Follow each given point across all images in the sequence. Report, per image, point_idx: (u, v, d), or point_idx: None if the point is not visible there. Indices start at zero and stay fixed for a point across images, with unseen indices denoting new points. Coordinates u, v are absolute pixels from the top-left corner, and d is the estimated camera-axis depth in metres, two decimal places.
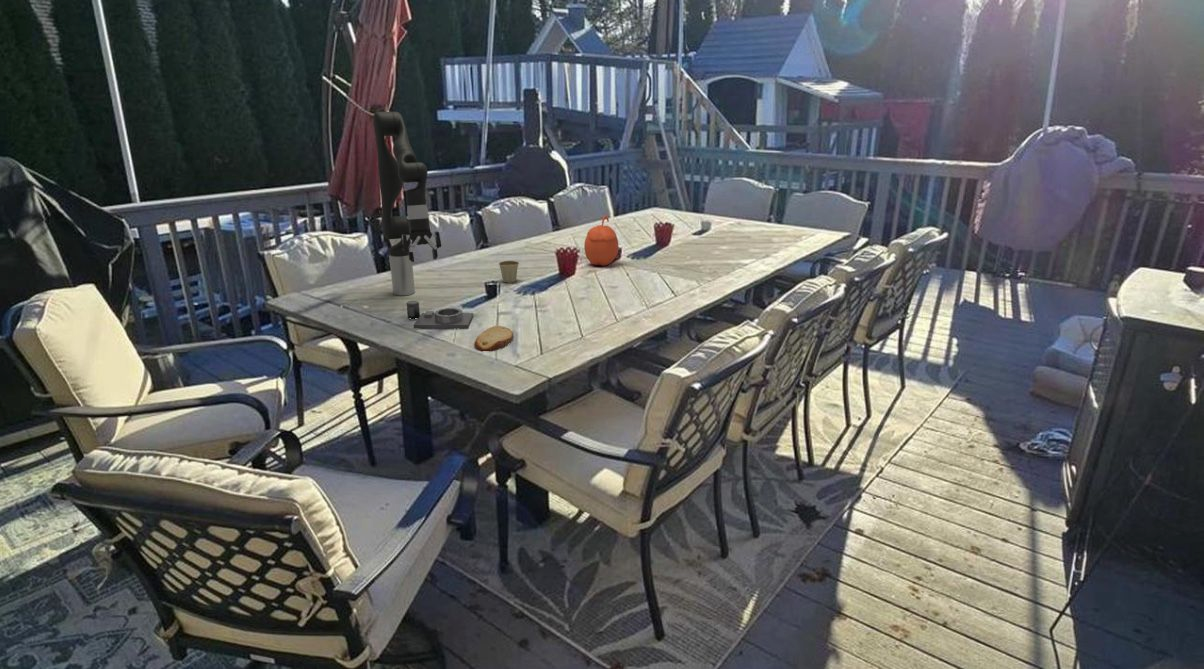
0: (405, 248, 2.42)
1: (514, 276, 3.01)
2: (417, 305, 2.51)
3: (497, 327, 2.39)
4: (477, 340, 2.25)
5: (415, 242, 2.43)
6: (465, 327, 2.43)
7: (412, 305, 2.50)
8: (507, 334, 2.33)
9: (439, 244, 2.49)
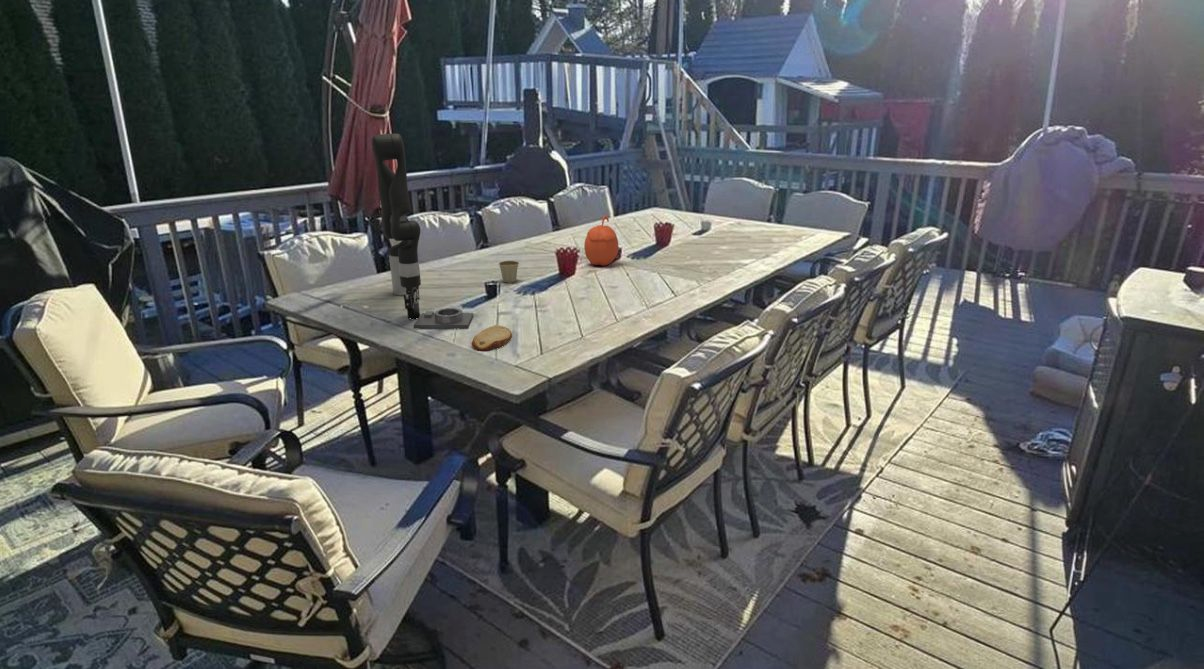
0: (412, 306, 2.46)
1: (514, 276, 3.01)
2: (417, 305, 2.51)
3: (496, 327, 2.39)
4: (474, 339, 2.25)
5: (414, 298, 2.49)
6: (465, 327, 2.43)
7: None
8: (505, 334, 2.33)
9: (418, 297, 2.57)
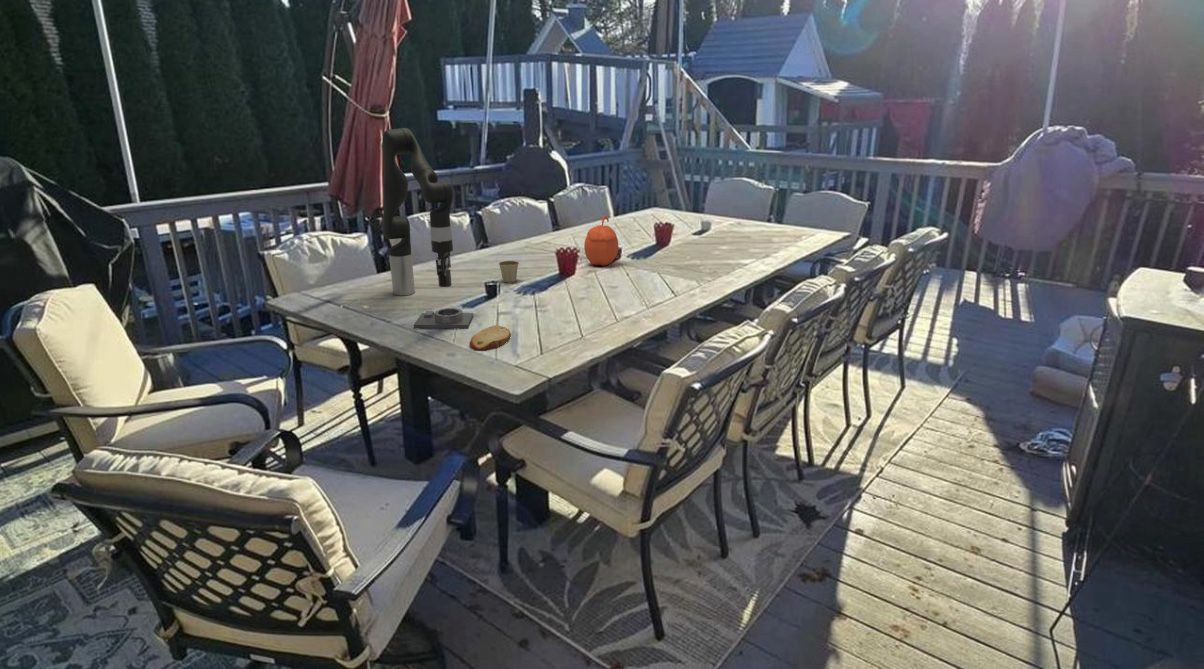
0: (444, 272, 2.35)
1: (514, 276, 3.01)
2: (449, 272, 2.40)
3: (496, 327, 2.39)
4: (472, 339, 2.25)
5: (446, 264, 2.37)
6: (465, 327, 2.43)
7: None
8: (504, 334, 2.33)
9: (450, 264, 2.45)
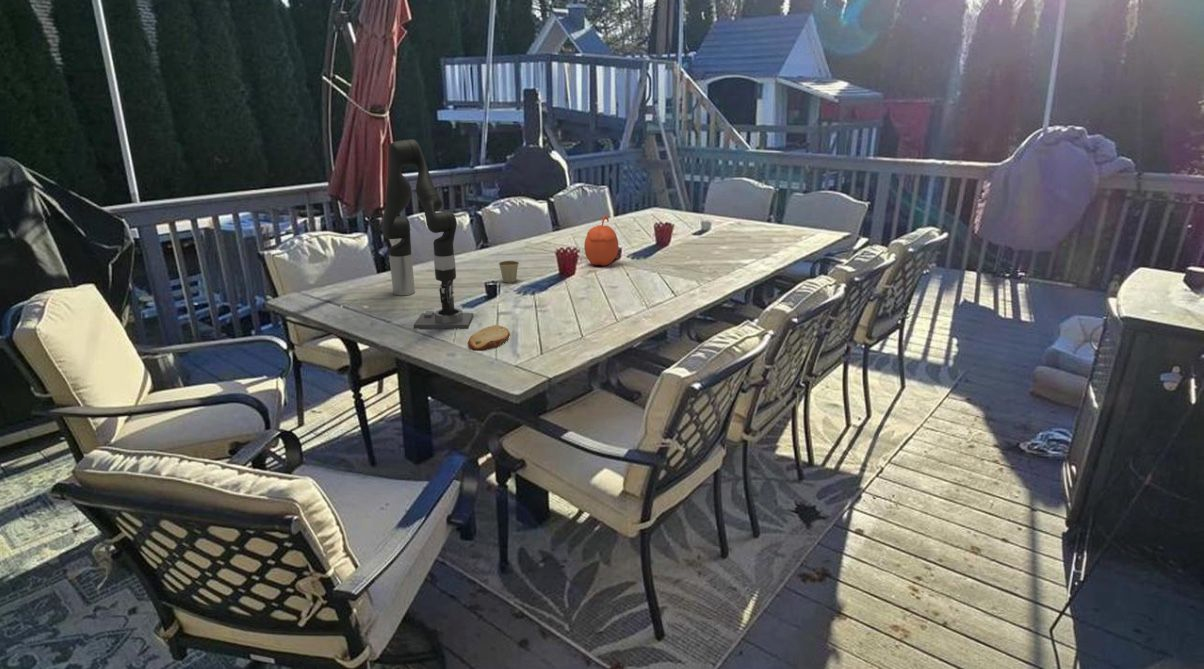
0: (447, 300, 2.39)
1: (514, 276, 3.01)
2: (452, 299, 2.44)
3: (495, 327, 2.39)
4: (471, 339, 2.26)
5: (450, 292, 2.41)
6: (465, 327, 2.43)
7: None
8: (503, 334, 2.33)
9: None
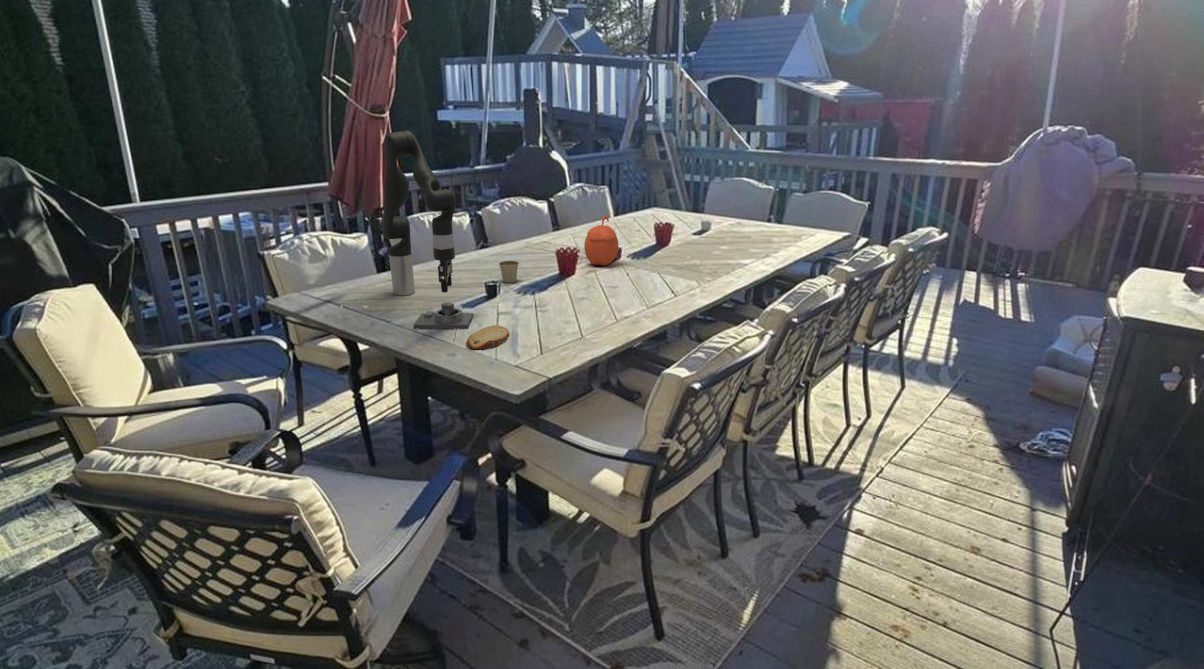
0: (445, 279, 2.36)
1: (514, 276, 3.01)
2: (453, 307, 2.45)
3: (495, 326, 2.39)
4: (469, 338, 2.26)
5: (448, 271, 2.38)
6: (465, 327, 2.43)
7: (448, 307, 2.43)
8: (502, 334, 2.33)
9: None
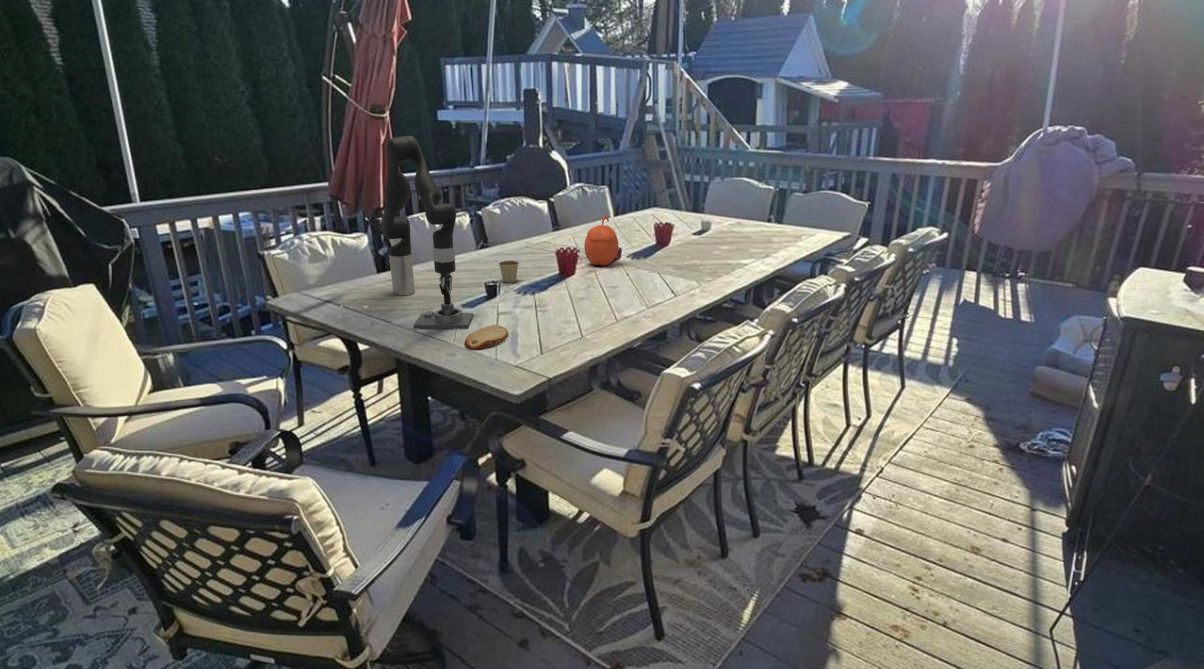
0: (448, 292, 2.41)
1: (514, 276, 3.01)
2: (453, 307, 2.45)
3: (494, 326, 2.39)
4: (467, 338, 2.26)
5: (450, 284, 2.41)
6: (465, 327, 2.43)
7: (449, 307, 2.43)
8: (500, 334, 2.33)
9: (451, 287, 2.46)
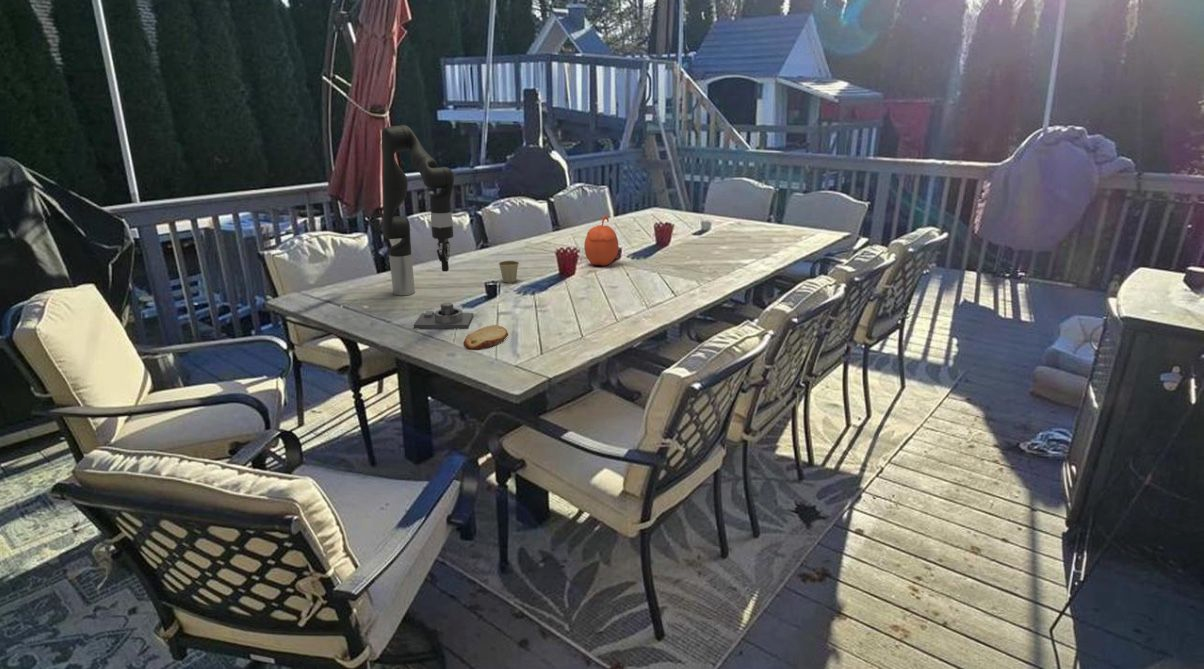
0: (446, 258, 2.36)
1: (514, 276, 3.01)
2: (452, 307, 2.45)
3: (494, 326, 2.39)
4: (467, 338, 2.27)
5: (447, 250, 2.37)
6: (465, 327, 2.43)
7: (448, 307, 2.43)
8: (500, 334, 2.33)
9: (449, 254, 2.41)
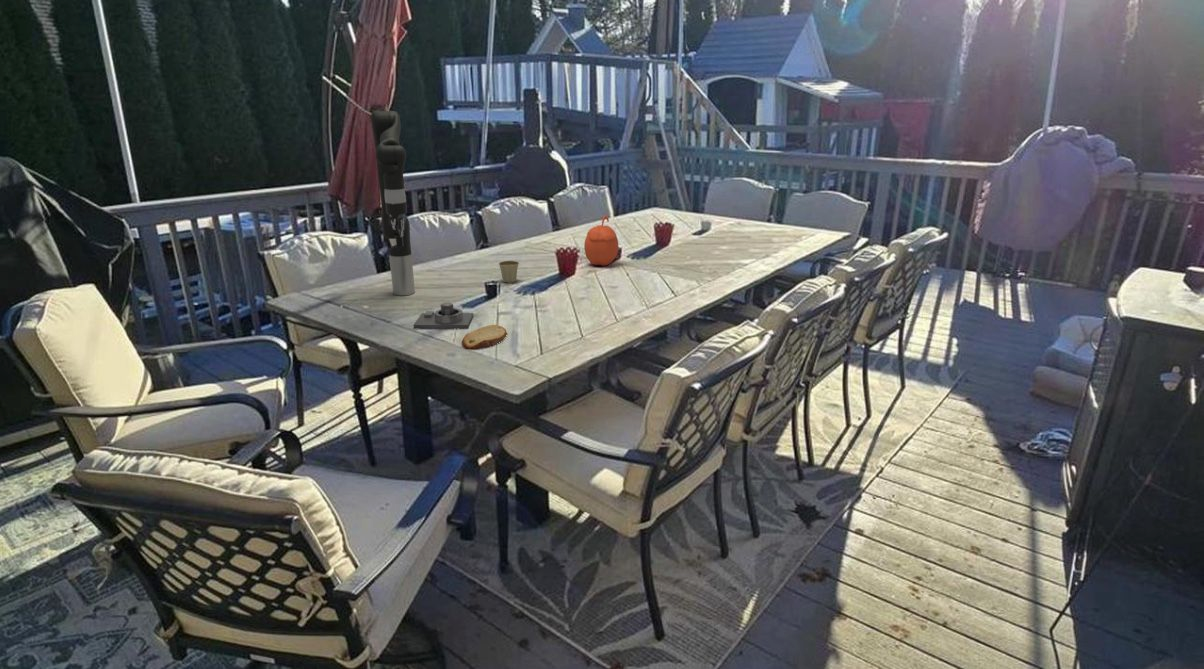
0: (400, 234, 2.45)
1: (514, 276, 3.01)
2: (452, 307, 2.45)
3: (493, 326, 2.40)
4: (465, 337, 2.27)
5: (401, 226, 2.45)
6: (465, 327, 2.43)
7: (448, 307, 2.43)
8: (499, 334, 2.33)
9: (403, 230, 2.50)
